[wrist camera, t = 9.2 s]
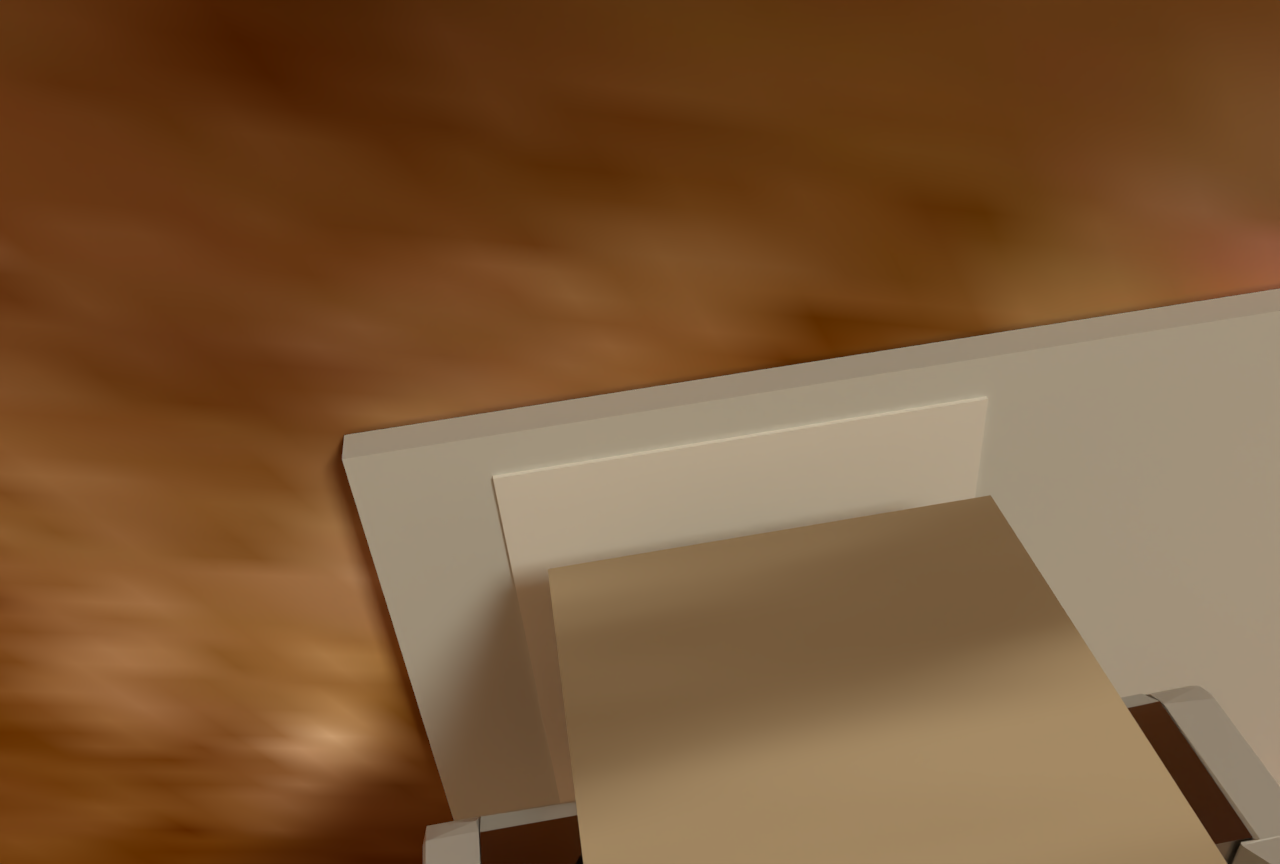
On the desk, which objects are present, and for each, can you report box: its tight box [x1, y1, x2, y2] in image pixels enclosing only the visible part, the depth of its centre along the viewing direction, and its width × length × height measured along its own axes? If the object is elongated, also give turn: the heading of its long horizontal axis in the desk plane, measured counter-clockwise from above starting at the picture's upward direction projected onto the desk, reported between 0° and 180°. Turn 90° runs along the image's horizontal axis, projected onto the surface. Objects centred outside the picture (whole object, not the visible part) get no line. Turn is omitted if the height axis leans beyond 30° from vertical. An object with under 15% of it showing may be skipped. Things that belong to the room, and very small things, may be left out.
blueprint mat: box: [342, 289, 1280, 821], centre depth 16 cm, size 14×20×1 cm, turn 95°
